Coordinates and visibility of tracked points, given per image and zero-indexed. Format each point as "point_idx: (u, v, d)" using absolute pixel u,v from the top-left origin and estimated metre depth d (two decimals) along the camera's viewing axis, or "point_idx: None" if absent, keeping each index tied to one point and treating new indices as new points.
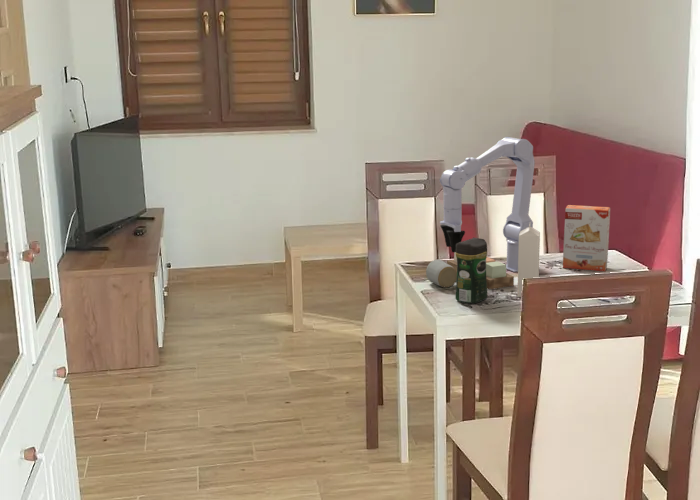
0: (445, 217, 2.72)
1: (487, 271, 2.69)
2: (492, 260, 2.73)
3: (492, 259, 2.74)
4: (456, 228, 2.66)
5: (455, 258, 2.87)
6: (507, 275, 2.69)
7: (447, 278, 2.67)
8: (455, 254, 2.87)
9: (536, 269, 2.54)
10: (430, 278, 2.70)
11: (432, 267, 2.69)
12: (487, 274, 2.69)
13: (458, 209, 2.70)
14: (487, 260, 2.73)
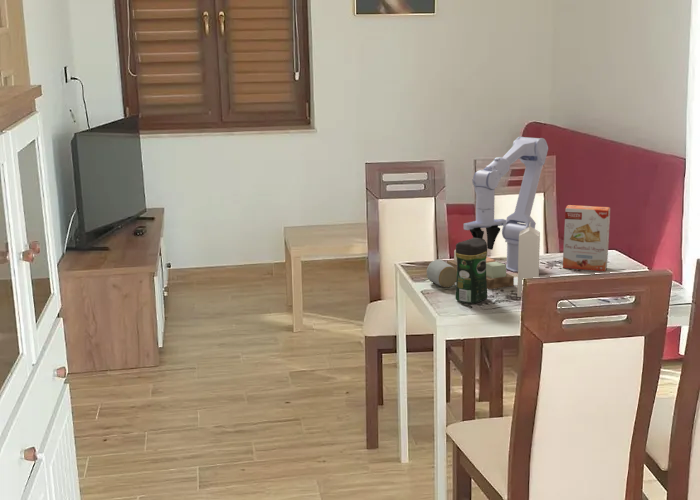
0: None
1: (487, 271, 2.69)
2: (492, 260, 2.73)
3: (492, 259, 2.74)
4: (464, 226, 2.70)
5: (455, 258, 2.87)
6: (507, 275, 2.69)
7: (448, 278, 2.67)
8: (455, 254, 2.87)
9: (536, 269, 2.54)
10: (431, 278, 2.70)
11: (433, 267, 2.69)
12: (487, 274, 2.69)
13: (480, 209, 2.69)
14: (487, 260, 2.73)
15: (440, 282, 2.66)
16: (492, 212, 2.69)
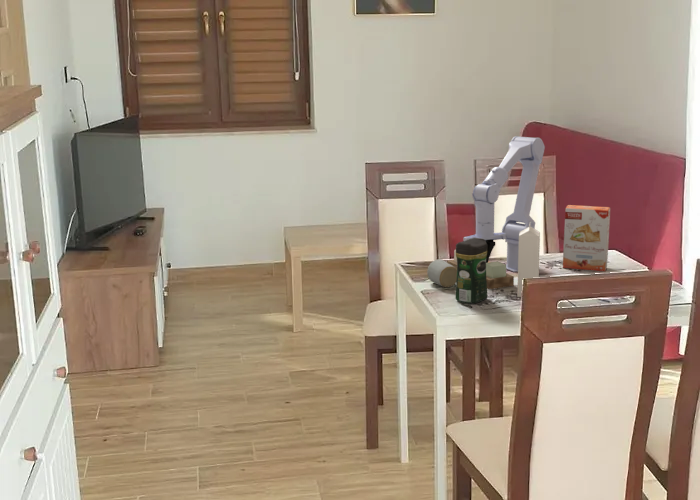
0: None
1: (487, 271, 2.69)
2: None
3: None
4: (464, 239, 2.71)
5: (455, 258, 2.87)
6: (507, 275, 2.69)
7: (449, 278, 2.67)
8: (455, 254, 2.87)
9: (536, 269, 2.54)
10: (431, 278, 2.70)
11: (433, 267, 2.69)
12: (487, 274, 2.69)
13: (480, 223, 2.70)
14: None
15: (441, 282, 2.66)
16: (492, 226, 2.70)
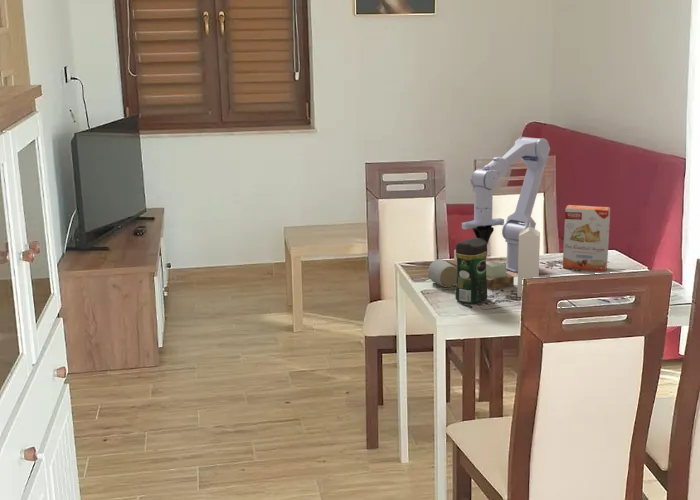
0: None
1: (487, 271, 2.69)
2: None
3: None
4: (462, 225, 2.71)
5: (455, 258, 2.87)
6: (507, 275, 2.69)
7: (449, 278, 2.67)
8: (455, 254, 2.87)
9: (536, 269, 2.54)
10: (432, 278, 2.70)
11: (434, 267, 2.69)
12: (487, 274, 2.69)
13: (478, 209, 2.70)
14: None
15: (442, 282, 2.66)
16: (490, 211, 2.70)
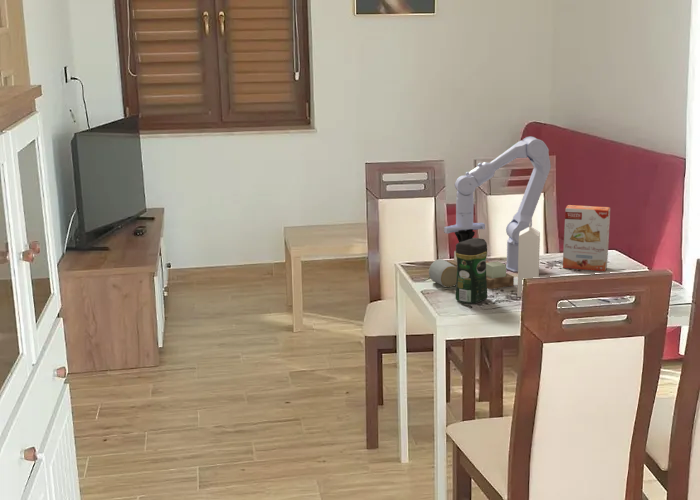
0: None
1: (487, 271, 2.69)
2: None
3: None
4: (444, 229, 2.82)
5: (455, 259, 2.87)
6: (507, 275, 2.69)
7: (450, 278, 2.67)
8: (455, 255, 2.87)
9: (536, 269, 2.54)
10: (433, 278, 2.71)
11: (435, 267, 2.70)
12: (487, 274, 2.69)
13: (460, 214, 2.81)
14: None
15: (442, 282, 2.66)
16: (471, 216, 2.81)
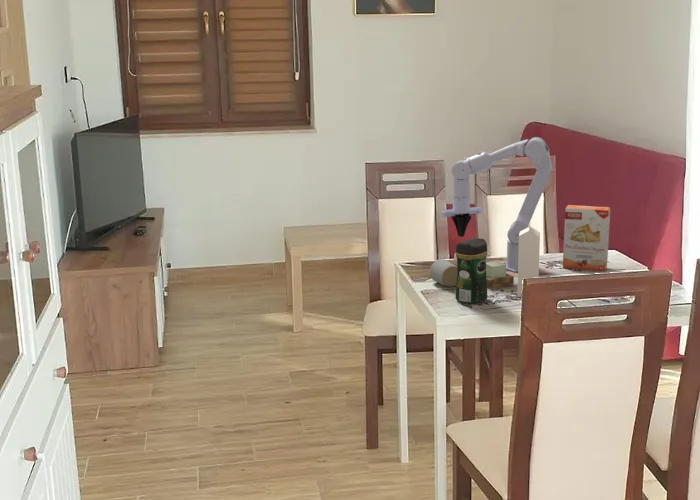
0: None
1: (487, 271, 2.69)
2: None
3: None
4: (441, 213, 2.87)
5: None
6: (507, 275, 2.69)
7: (451, 278, 2.67)
8: (455, 258, 2.87)
9: (536, 269, 2.54)
10: (434, 277, 2.71)
11: (436, 267, 2.70)
12: (487, 274, 2.69)
13: (456, 198, 2.86)
14: None
15: (444, 282, 2.67)
16: (468, 200, 2.86)
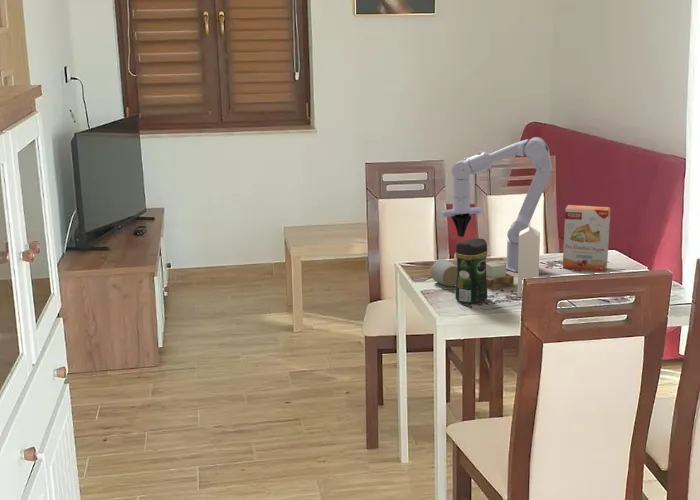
0: None
1: (487, 271, 2.69)
2: None
3: None
4: (441, 213, 2.87)
5: None
6: (507, 275, 2.69)
7: (452, 278, 2.67)
8: (455, 258, 2.87)
9: (536, 269, 2.54)
10: (435, 277, 2.71)
11: (437, 266, 2.70)
12: (487, 274, 2.69)
13: (456, 198, 2.86)
14: None
15: (444, 281, 2.67)
16: (468, 200, 2.86)
